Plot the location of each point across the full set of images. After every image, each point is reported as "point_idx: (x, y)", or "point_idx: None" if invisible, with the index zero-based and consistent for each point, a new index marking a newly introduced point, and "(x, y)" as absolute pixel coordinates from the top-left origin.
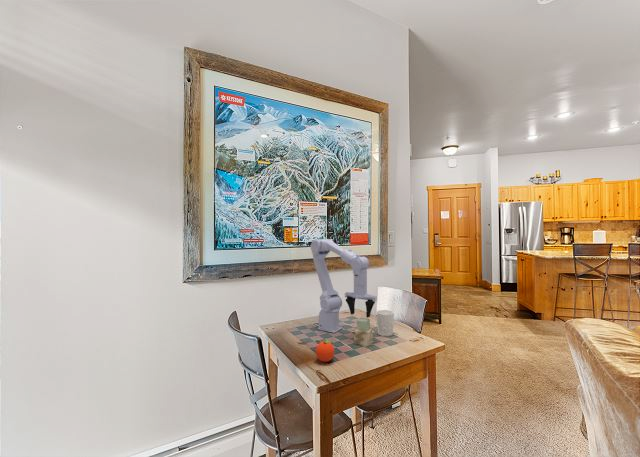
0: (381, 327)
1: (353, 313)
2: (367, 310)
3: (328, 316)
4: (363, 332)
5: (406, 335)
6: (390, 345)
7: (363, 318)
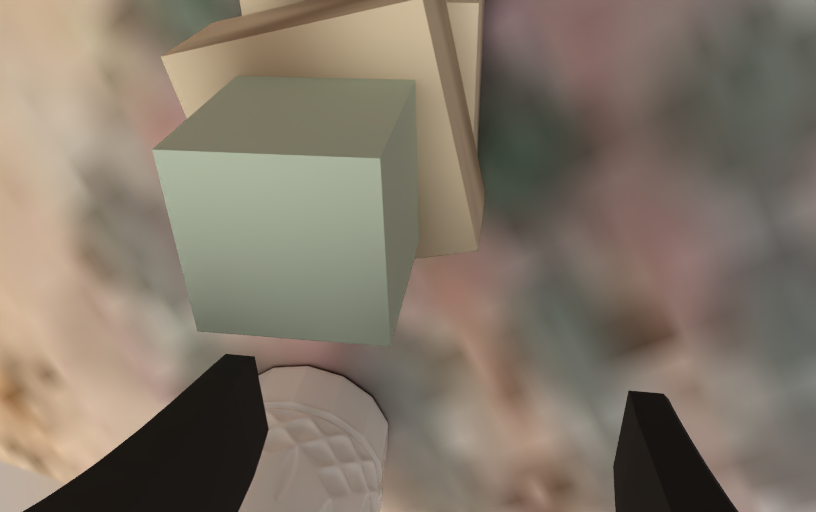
0: (280, 433)
1: (620, 449)
2: (134, 463)
3: None
4: (261, 32)
5: None
6: (87, 168)
7: (327, 328)
